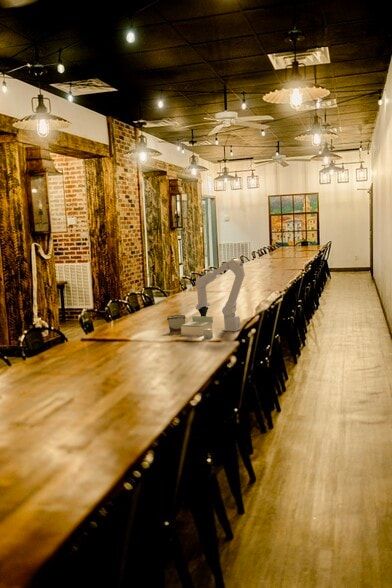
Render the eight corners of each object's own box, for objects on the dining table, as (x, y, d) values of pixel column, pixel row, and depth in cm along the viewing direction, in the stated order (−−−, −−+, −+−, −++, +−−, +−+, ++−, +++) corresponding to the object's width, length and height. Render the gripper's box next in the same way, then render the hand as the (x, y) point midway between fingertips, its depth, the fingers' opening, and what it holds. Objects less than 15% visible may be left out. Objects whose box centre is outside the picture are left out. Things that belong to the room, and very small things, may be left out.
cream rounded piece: (214, 336, 325) (213, 328, 325) (210, 338, 321) (209, 330, 320) (206, 336, 328) (206, 328, 327) (202, 338, 324) (201, 330, 323)
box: (212, 330, 343) (211, 322, 343) (201, 335, 331) (200, 327, 331) (192, 330, 350) (192, 322, 350) (181, 334, 338) (180, 326, 338)
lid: (212, 322, 344) (212, 316, 343) (201, 327, 332) (201, 320, 331) (193, 321, 351) (192, 315, 350) (181, 326, 339) (181, 320, 338)
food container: (188, 329, 352) (187, 314, 351) (187, 331, 346) (186, 316, 345) (169, 330, 354) (167, 315, 352) (167, 332, 348) (166, 317, 346)
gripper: (202, 295, 354) (203, 316, 356) (190, 299, 342) (192, 320, 344) (212, 295, 351) (213, 316, 353) (200, 299, 339) (202, 321, 340)
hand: (203, 318), depth 348 cm, fingers closed
